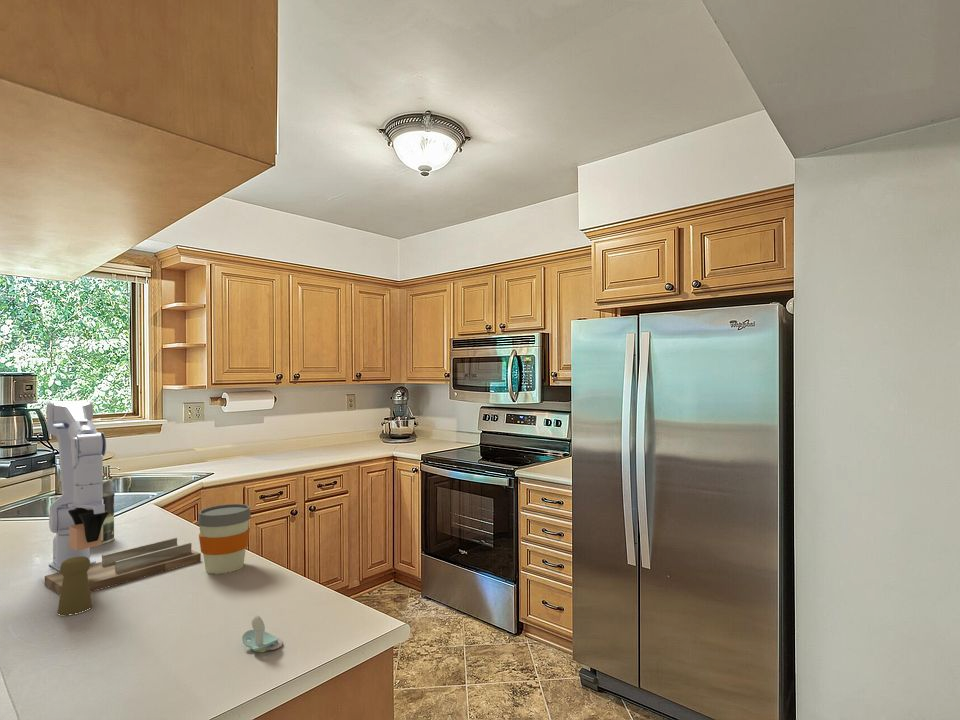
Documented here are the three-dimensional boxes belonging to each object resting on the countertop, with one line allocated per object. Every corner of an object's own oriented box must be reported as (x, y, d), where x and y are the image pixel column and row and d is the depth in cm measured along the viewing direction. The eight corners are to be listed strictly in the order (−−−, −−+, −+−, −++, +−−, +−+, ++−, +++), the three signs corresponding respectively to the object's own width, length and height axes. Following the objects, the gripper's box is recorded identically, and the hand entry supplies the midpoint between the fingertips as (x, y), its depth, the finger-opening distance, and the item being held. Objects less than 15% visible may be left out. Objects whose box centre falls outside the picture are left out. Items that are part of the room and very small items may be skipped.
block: (69, 546, 131) (69, 526, 131) (93, 541, 135) (93, 521, 135) (76, 550, 128) (76, 529, 128) (101, 545, 132) (101, 524, 132)
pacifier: (268, 636, 104) (237, 647, 99) (268, 602, 105) (239, 612, 100) (290, 647, 100) (259, 660, 95) (291, 612, 100) (260, 623, 95)
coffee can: (105, 535, 172) (105, 490, 172) (120, 540, 166) (121, 493, 167) (66, 543, 163) (66, 496, 164) (82, 549, 158) (82, 500, 158)
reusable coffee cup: (205, 580, 132) (205, 518, 133) (191, 567, 142) (191, 509, 142) (258, 567, 140) (257, 509, 141) (242, 556, 150) (241, 501, 150)
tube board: (44, 584, 131) (44, 565, 131) (174, 550, 155) (174, 534, 155) (66, 598, 122) (66, 578, 122) (200, 560, 146) (200, 544, 147)
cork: (73, 617, 113) (73, 563, 113) (49, 614, 114) (50, 562, 114) (99, 605, 119) (99, 554, 119) (76, 602, 120) (76, 552, 120)
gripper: (58, 482, 134) (57, 538, 133) (79, 489, 125) (79, 549, 125) (91, 478, 139) (91, 531, 139) (114, 484, 131) (114, 541, 130)
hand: (88, 539), depth 132 cm, fingers closed on block, 5 cm apart
